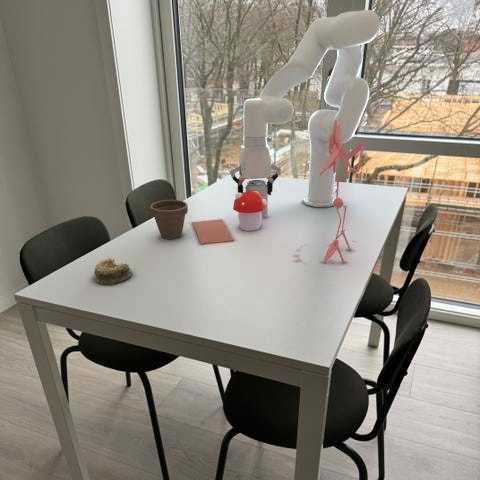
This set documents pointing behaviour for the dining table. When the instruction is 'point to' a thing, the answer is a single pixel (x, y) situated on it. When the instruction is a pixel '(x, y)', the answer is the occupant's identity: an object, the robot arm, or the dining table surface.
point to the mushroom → (249, 209)
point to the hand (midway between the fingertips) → (255, 195)
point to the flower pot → (169, 217)
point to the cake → (111, 272)
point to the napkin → (212, 231)
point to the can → (261, 188)
